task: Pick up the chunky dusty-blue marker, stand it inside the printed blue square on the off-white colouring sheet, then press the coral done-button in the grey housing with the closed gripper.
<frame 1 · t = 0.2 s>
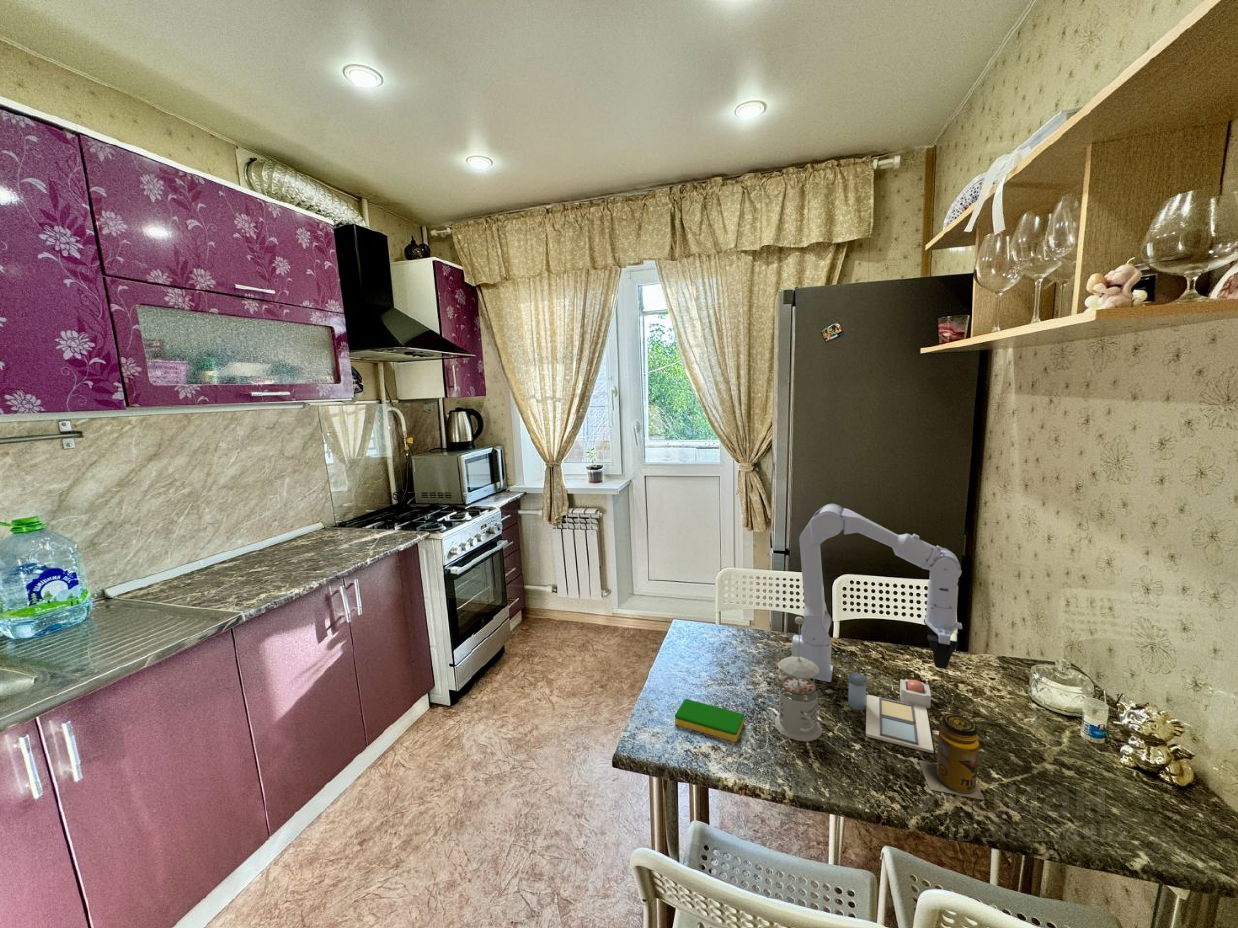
hand: (938, 659, 112), 10 cm above the table, fingers open, 7 cm apart
dish sponge: (709, 725, 108), on the table
condiment: (949, 780, 90), on the table
french press: (799, 724, 107), on the table
sheet: (897, 722, 106), on the table
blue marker: (856, 705, 112), on the table
button housing: (914, 699, 114), on the table
done button: (915, 689, 114), point 3 cm above the table, slide at 0.0 cm
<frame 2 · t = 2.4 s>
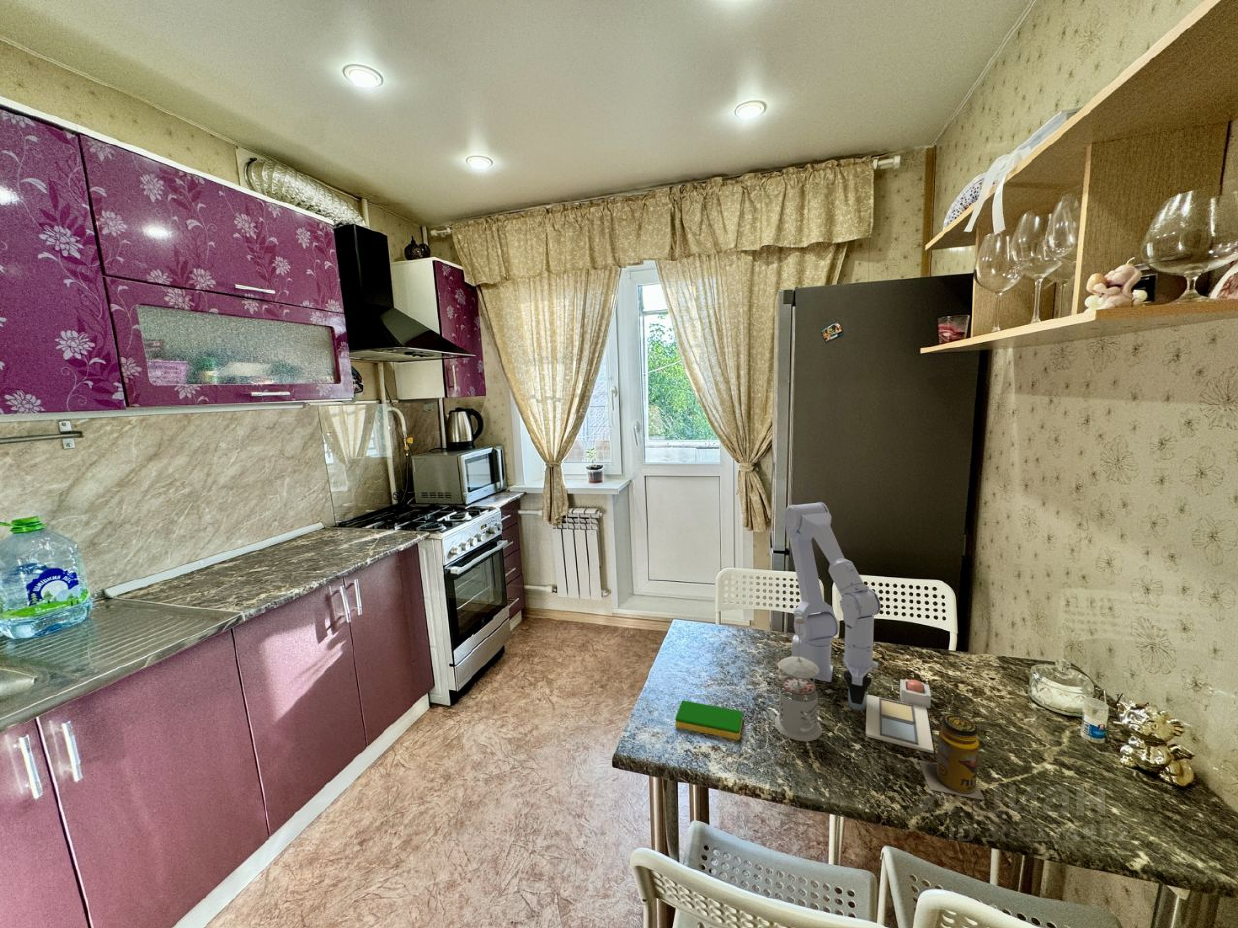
hand: (857, 697, 112), 2 cm above the table, fingers closed on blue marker, 4 cm apart
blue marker: (856, 705, 112), on the table, touching gripper
everything else where it was.
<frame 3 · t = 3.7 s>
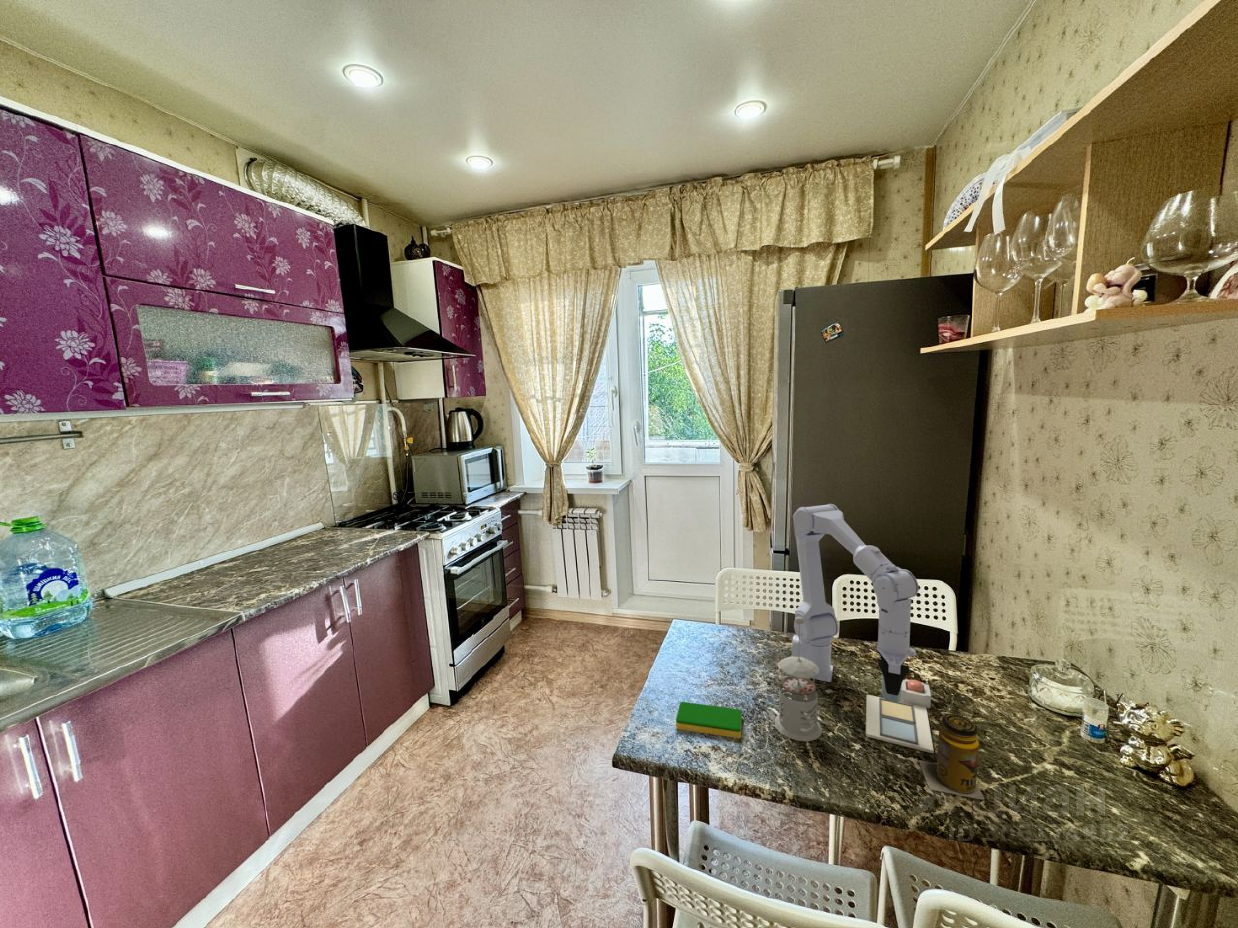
hand: (891, 688, 103), 9 cm above the table, fingers closed on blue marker, 4 cm apart
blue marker: (891, 696, 104), point 7 cm above the table, touching gripper
everything else where it was.
when the fingers open (4 cm above the table, at t = 5.2 s): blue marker stays where it is, resting on sheet.
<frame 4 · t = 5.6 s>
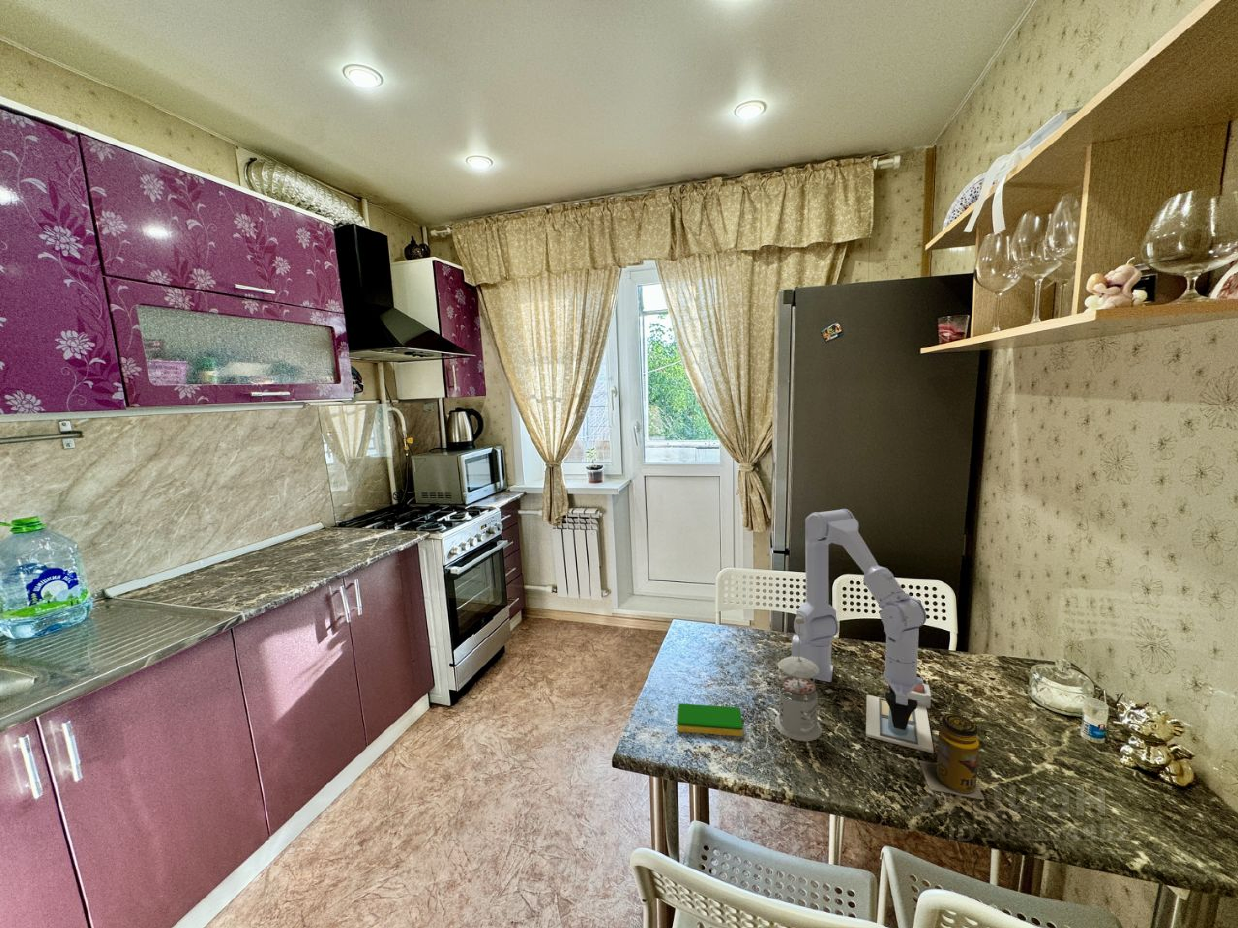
hand: (898, 716, 102), 4 cm above the table, fingers open, 7 cm apart
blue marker: (897, 729, 103), point 1 cm above the table, touching sheet
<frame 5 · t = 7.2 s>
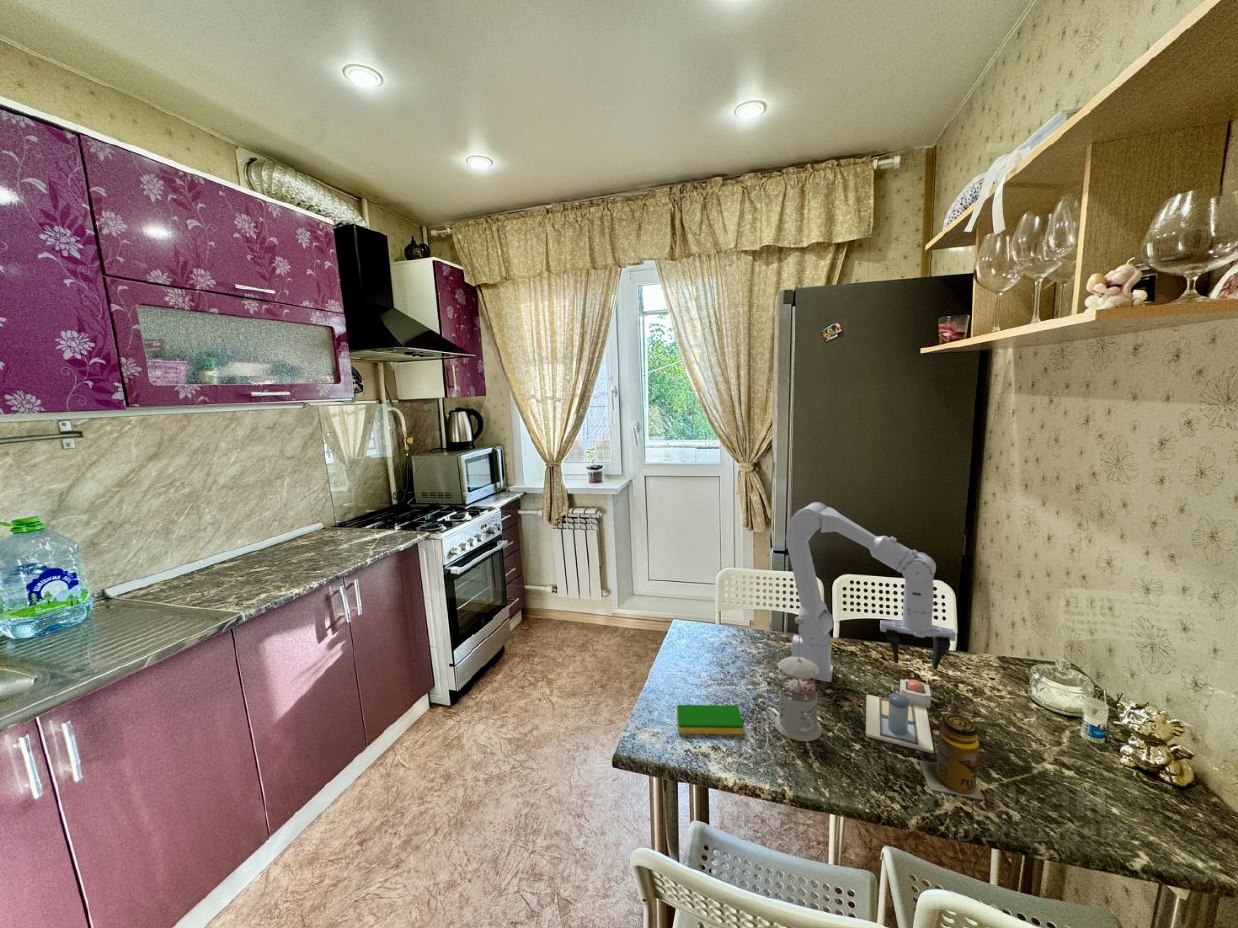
hand: (915, 664, 112), 9 cm above the table, fingers open, 7 cm apart
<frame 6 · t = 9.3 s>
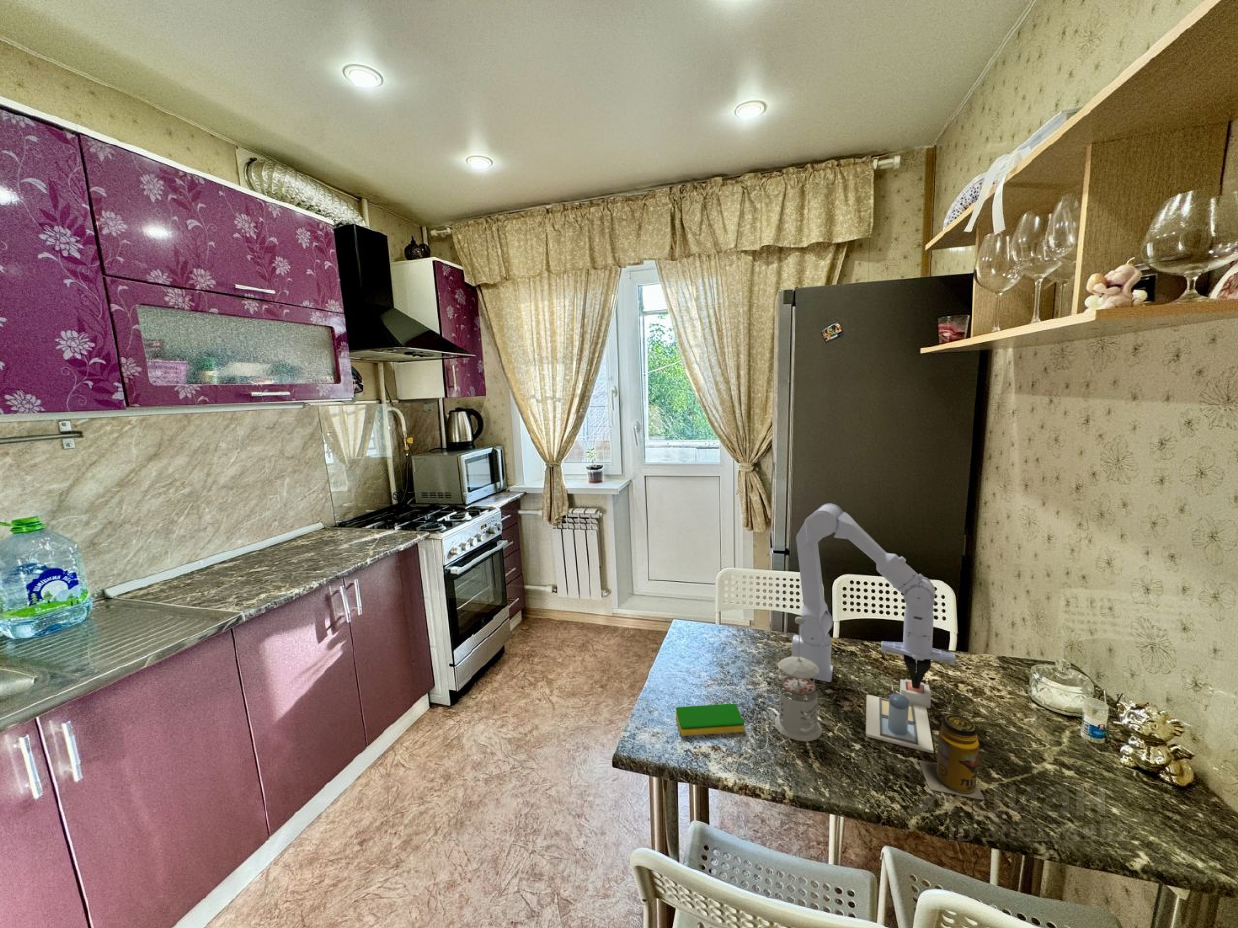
hand: (915, 686, 113), 3 cm above the table, fingers closed, pressing on done button
done button: (915, 691, 114), point 2 cm above the table, slide at 0.6 cm, touching gripper
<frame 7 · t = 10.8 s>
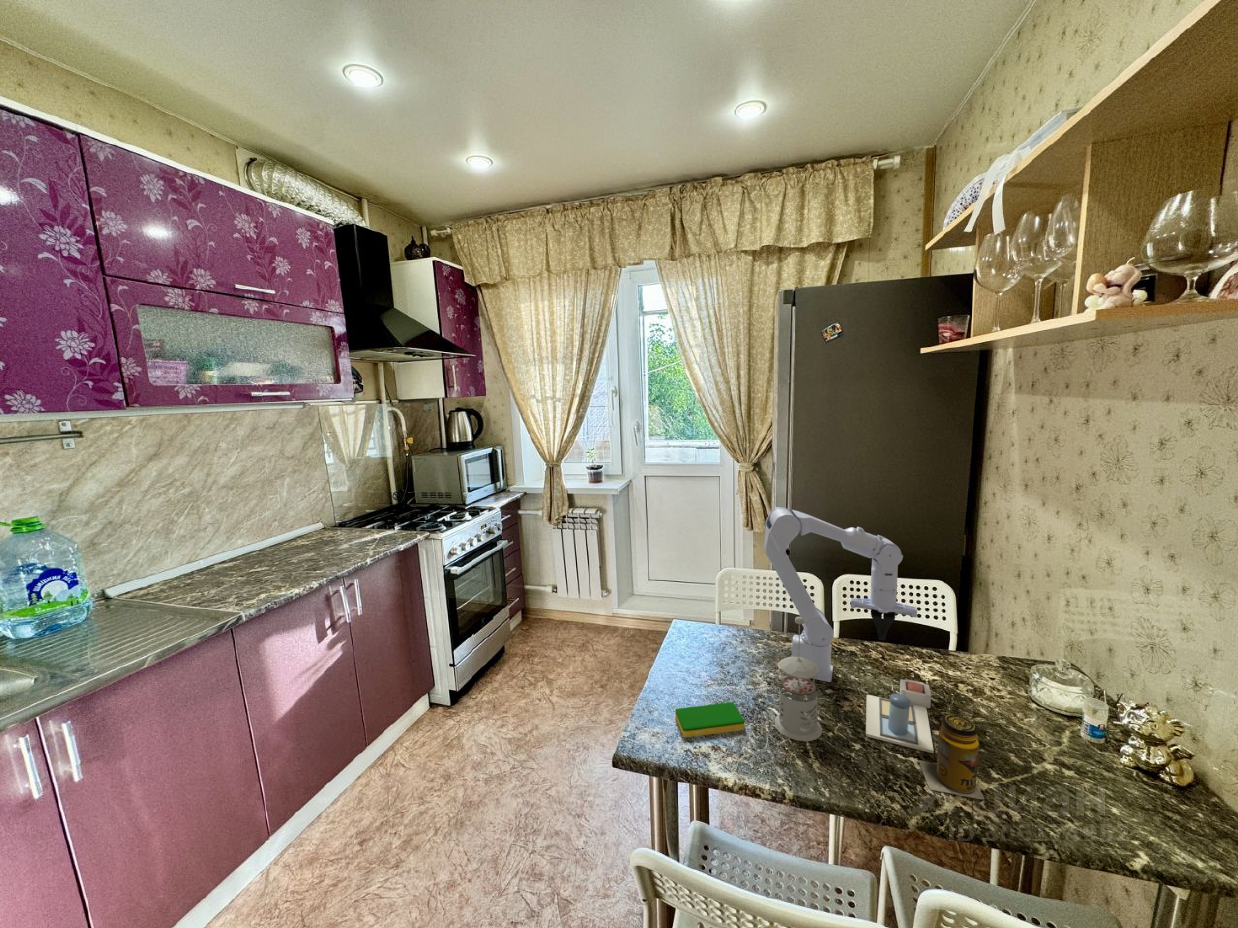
hand: (881, 638, 123), 10 cm above the table, fingers closed
done button: (915, 691, 114), point 2 cm above the table, slide at 0.6 cm
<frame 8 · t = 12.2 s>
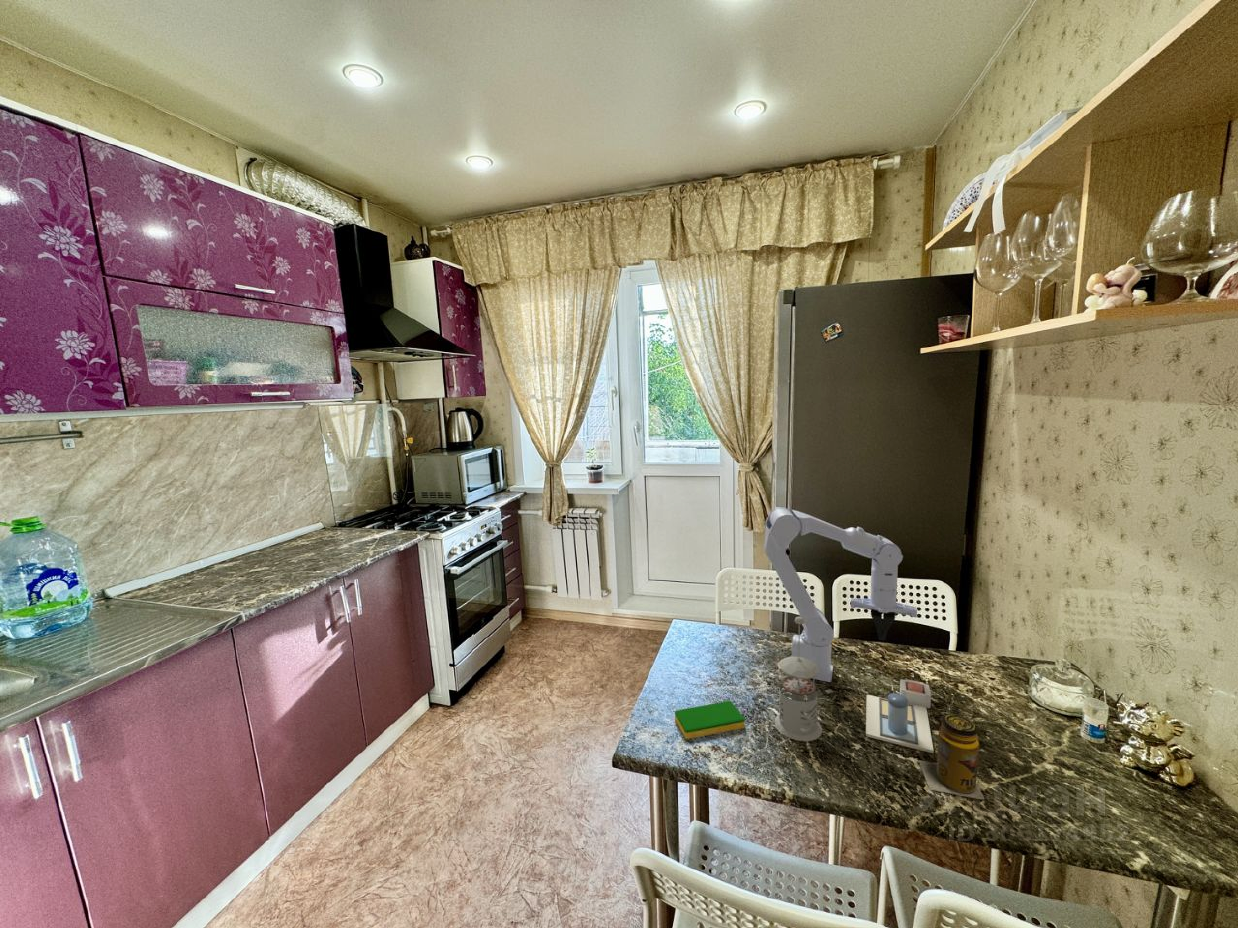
hand: (881, 638, 123), 10 cm above the table, fingers closed
at the end: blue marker 0.0 cm from the target spot on the sheet, point 0.8 cm above the sheet's base; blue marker tilted 2°; done button slide at 0.6 cm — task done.
